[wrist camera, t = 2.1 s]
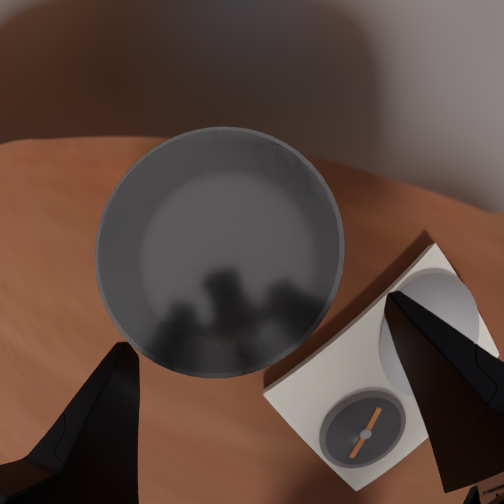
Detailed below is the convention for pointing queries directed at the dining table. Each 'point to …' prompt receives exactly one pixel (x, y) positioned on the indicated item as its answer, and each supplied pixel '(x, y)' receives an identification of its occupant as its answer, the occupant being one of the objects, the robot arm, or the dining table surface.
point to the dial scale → (372, 378)
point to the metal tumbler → (219, 252)
